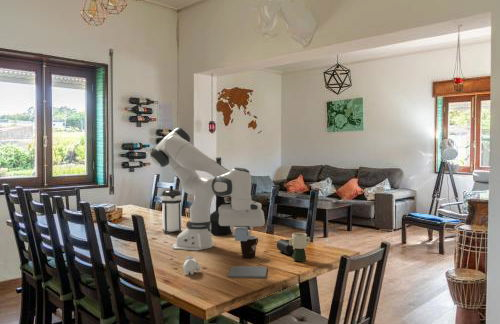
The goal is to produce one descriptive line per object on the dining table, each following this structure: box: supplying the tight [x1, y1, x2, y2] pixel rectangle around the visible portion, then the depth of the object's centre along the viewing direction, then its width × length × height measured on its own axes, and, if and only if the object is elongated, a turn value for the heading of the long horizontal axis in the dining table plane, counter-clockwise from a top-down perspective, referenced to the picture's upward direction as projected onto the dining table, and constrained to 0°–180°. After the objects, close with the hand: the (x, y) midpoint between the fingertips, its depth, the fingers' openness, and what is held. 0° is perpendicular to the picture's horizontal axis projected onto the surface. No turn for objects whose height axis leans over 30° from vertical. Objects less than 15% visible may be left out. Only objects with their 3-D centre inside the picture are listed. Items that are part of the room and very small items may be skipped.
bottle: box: [210, 195, 232, 236], centre depth 264 cm, size 16×16×30 cm
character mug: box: [288, 232, 311, 262], centre depth 202 cm, size 11×7×13 cm, turn 107°
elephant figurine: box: [180, 254, 203, 276], centre depth 185 cm, size 8×10×7 cm
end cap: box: [276, 238, 295, 257], centre depth 216 cm, size 10×7×7 cm
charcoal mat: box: [227, 265, 268, 279], centre depth 185 cm, size 16×14×1 cm
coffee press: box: [161, 185, 183, 235], centre depth 271 cm, size 17×16×30 cm
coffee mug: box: [239, 234, 259, 260], centre depth 211 cm, size 12×9×10 cm
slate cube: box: [234, 226, 249, 242], centre depth 184 cm, size 5×5×5 cm
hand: (241, 236), depth 184 cm, fingers closed on slate cube, 5 cm apart
